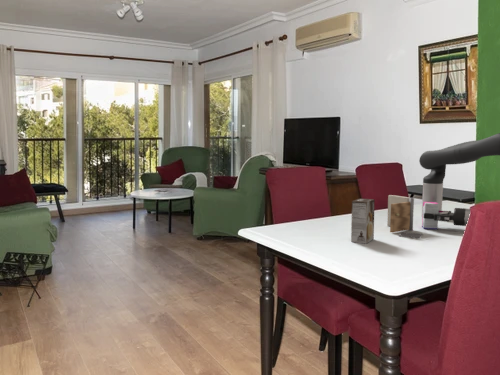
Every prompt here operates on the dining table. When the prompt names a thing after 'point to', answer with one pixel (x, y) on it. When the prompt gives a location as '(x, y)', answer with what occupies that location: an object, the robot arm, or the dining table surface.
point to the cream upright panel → (400, 199)
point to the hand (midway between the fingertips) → (424, 214)
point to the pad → (410, 235)
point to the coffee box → (362, 220)
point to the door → (400, 217)
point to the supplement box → (430, 208)
